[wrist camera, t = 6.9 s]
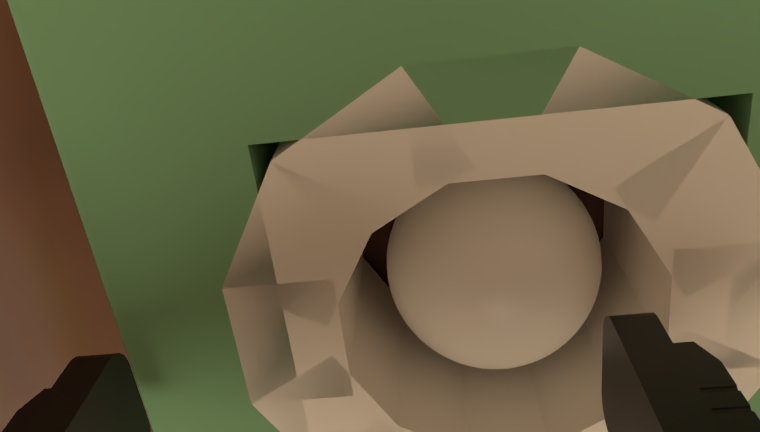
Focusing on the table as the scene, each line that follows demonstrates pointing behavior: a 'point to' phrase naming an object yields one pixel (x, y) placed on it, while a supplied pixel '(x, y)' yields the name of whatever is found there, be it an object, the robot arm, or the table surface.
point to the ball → (495, 269)
